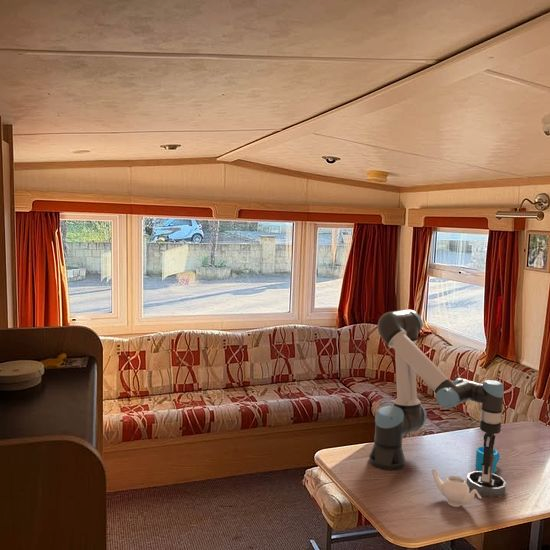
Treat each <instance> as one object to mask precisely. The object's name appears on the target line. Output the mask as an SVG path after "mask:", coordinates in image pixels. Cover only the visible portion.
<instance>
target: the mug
mask: <svg viewBox="0 0 550 550" xmlns="http://www.w3.org/2000/svg"><path fill="white" fill-rule="evenodd" d="M475 453H476V454H475V467H476V468H475V470H476V471H478V470H479V471H482V469H483V465H481V463H483V453H484V446H478V447H476V452H475ZM493 454H494V456H495V457H494V458H493V466H492V473H494V474H496V472H497V464H498V462H499V461H500V454H499V451H497V450H496V449H494V448H493Z"/></svg>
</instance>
